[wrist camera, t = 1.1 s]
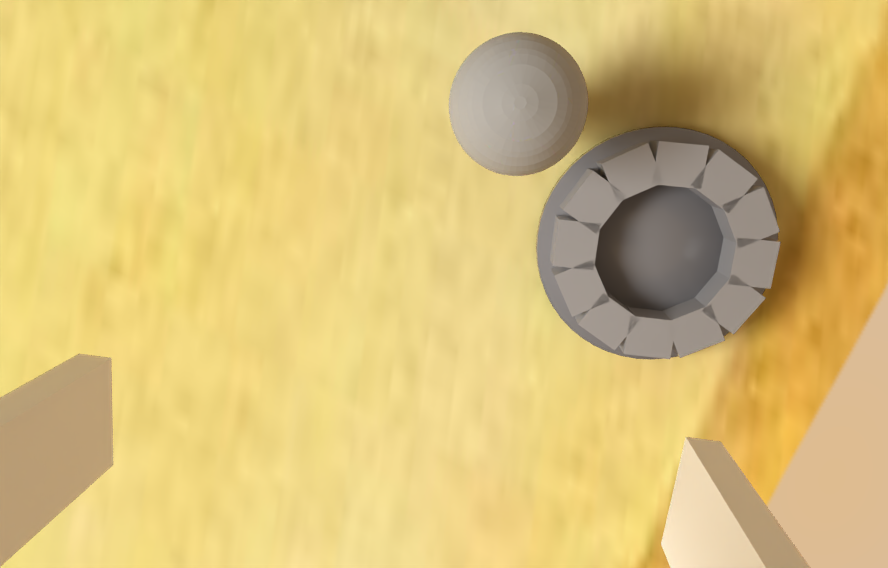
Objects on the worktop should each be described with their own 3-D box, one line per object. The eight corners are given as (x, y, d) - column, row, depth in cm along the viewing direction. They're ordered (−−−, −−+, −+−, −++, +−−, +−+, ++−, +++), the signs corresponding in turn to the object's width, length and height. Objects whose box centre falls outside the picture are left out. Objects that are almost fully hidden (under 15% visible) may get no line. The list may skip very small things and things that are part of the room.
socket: (551, 116, 32) (556, 114, 30) (794, 138, 32) (819, 139, 29) (523, 341, 35) (525, 357, 33) (745, 366, 35) (765, 384, 32)
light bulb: (481, 183, 34) (476, 202, 24) (442, 81, 33) (421, 58, 23) (581, 143, 33) (618, 146, 23) (545, 38, 32) (567, -5, 22)
